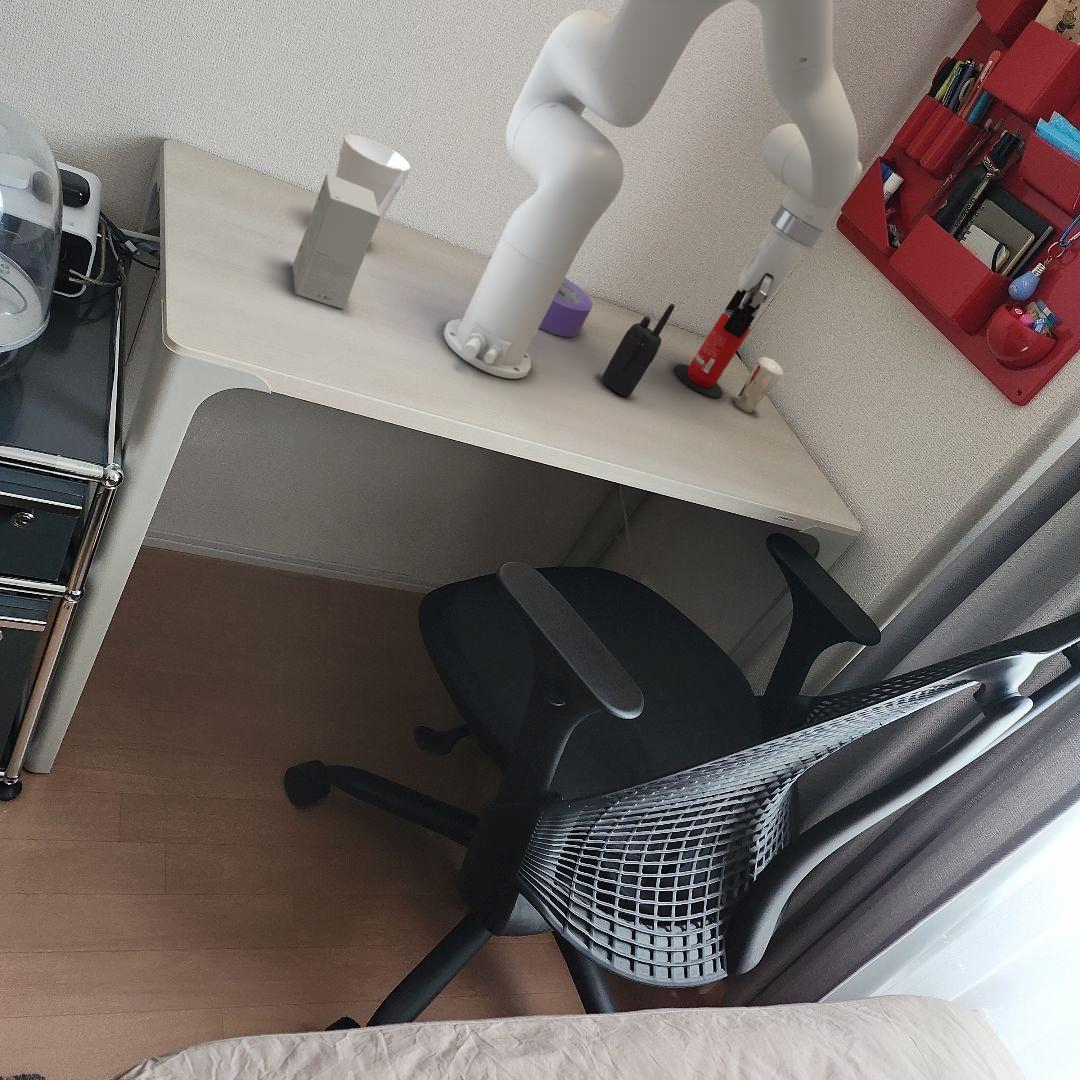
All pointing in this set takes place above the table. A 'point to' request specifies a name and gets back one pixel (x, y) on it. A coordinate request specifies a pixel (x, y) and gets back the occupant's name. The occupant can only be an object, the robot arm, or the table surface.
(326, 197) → the small box
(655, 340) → the two-way radio
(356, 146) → the foam cup
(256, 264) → the table surface
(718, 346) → the beverage can
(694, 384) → the coaster
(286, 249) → the table surface
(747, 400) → the milkshake
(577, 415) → the table surface
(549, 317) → the tape roll
